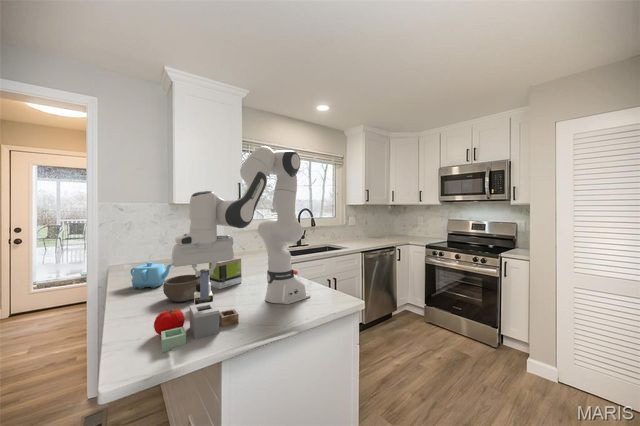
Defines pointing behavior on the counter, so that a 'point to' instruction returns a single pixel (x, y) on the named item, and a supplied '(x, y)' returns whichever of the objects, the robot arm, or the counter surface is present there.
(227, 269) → the tea box
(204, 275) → the grey rod
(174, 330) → the rest socket
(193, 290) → the bowl
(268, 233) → the robot arm
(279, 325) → the counter surface
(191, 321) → the grey hollow block
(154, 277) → the teapot
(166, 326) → the tomato
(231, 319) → the holder
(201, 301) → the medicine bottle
